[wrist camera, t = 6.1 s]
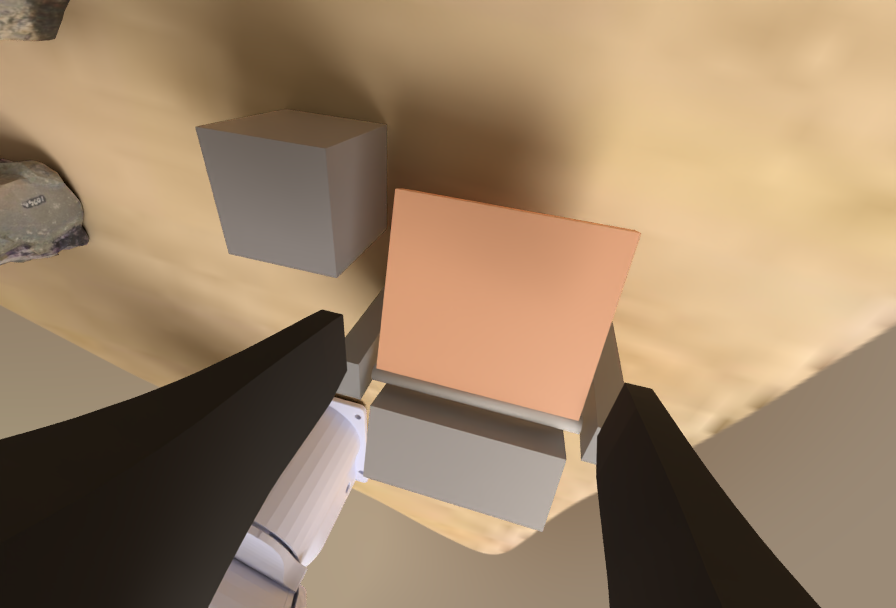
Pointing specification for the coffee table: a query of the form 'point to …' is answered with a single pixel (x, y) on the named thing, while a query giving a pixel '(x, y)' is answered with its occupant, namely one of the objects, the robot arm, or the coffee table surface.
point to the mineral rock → (36, 213)
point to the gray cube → (298, 187)
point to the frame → (595, 411)
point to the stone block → (31, 19)
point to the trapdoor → (488, 349)
